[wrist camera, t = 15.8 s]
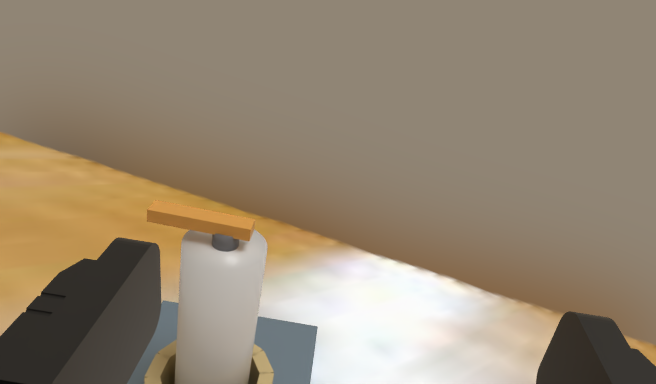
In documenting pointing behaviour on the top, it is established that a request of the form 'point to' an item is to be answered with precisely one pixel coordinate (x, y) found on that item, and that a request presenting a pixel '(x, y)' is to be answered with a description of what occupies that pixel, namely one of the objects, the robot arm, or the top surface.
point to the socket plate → (267, 337)
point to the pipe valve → (215, 292)
